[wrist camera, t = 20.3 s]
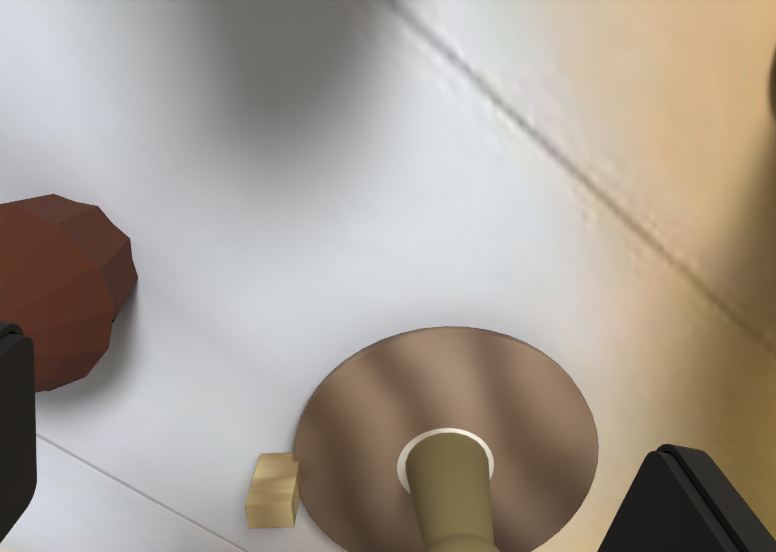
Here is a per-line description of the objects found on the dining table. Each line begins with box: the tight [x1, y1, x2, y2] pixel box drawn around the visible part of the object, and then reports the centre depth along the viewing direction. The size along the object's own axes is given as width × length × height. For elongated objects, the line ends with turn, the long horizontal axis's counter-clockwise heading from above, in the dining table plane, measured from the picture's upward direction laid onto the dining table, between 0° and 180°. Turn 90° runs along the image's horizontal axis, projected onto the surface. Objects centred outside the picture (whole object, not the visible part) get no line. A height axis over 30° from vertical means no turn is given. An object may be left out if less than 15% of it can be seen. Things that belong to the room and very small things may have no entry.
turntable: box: [245, 326, 599, 552], centre depth 39 cm, size 23×22×5 cm
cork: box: [405, 432, 500, 552], centre depth 36 cm, size 6×6×11 cm
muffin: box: [0, 194, 138, 392], centre depth 33 cm, size 12×11×10 cm
